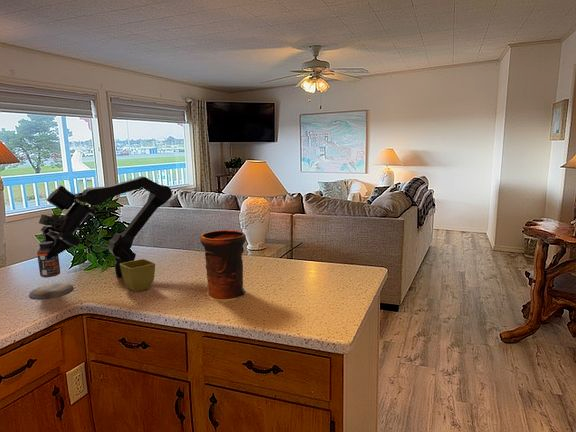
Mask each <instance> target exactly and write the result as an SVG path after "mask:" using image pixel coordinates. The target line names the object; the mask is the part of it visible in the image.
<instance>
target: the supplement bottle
mask: <svg viewBox="0 0 576 432" xmlns="http://www.w3.org/2000/svg"><path fill="white" fill-rule="evenodd" d="M38 245H39V249H38V250H37V252H36V254H37V262H38V270H39V275H40V277H41V278H52V277H57V276H59V275H60V274H61V266H60V257H59V254H58V255H56V256H54V257H52V258H50V259H47V258H46V256H47V254H48V252H49V251H50V249H51V247H52V246H53V242H52V241H47V242H44V241H43V242H39V244H38Z"/></svg>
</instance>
